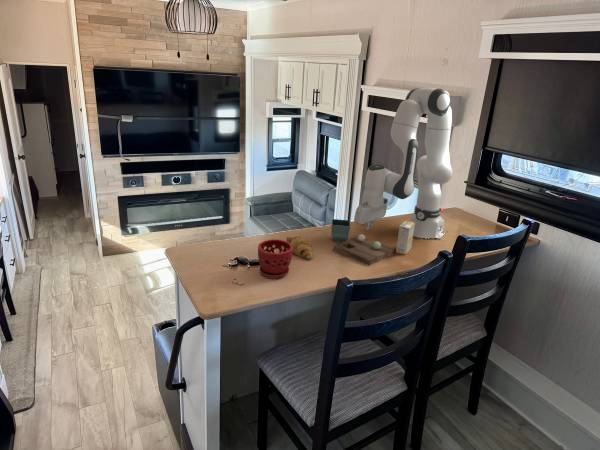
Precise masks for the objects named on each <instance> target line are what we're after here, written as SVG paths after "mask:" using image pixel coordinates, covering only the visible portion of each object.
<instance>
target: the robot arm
mask: <svg viewBox="0 0 600 450" xmlns="http://www.w3.org/2000/svg"><path fill="white" fill-rule="evenodd" d="M452 113H453V112H452V108H451V96H450V93H449V92H448V91H447V90H445V89H443V88H436V87H422V88H421V87H416V88H413V89H410V91H409V92H408V93H407V95H406V97H405V99H404V100H402V101H401V102H400V104H399V106H398V107H397V110H396V113H395V114H394V118H393V121H392V124H391V128H390V138H391V140H392V142H393V143H394V144H395V145H396V146H397V147H398V148H399V149H400V150H401V151H402V153H403V160H402V161H403V162H402V167H401V168H402V169H401V174H400V173H397V172H394V171H391V170H389V169H387V168H386V166H385V165H383V164H373V165H370V166H369V167H368V169H367V171H366V174H365V180H364V190H363V195H362V203H360V204H359V205H358V206H357V208H356V209H355V213H354V217H353V222H354V223H355V224H357V225H363V224H364V226H365V227H364V229H365V230H366V231H369V230H372V229H373V225H374V223H375V221H376V220H379V219H382V218H385V216H386V213H387V208H388V203H389V198H387V197H384V193H386V194H389V195H392V196H394V197H395V198H396V199H397V198H398V199H400V200H405V199H407V198H409V197H411V195H412V194H413V193H414V190H415V176H416V171H417V198H416V205H415V206H414V211H413V214H412V215H411V217H410V221H409V222H413V223H415V226H414V233H413V237H415V238H418V239H419V238H420V239H423V238H425V239H426V240H430V239H429V238H437V239H436V240H439V239H440V238H441V237H442V236H443V235H444V234H445V233H444V234H443V233H441V232H442V231H443V229H444V228H445V219H443V217H441V212H443V207H440V205H441V200H442V189H441V185H445V184H447V183H448V182H450V180H452V177H453V174H454V173H453V168H452V164H451V155H450V141H451V133H452V124H453V123H452V121H453V117H452V116H453V114H452ZM423 115H426V116H427V121H426V128H425V135H424V149H425V155H422V156H421V157H418V156H419V145H420V144H419V142H418V141H417V140H418V139H417V133H418V132H417V131H418V128H419V124H420V119H421V117H422V116H423ZM416 169H417V170H416ZM445 235H446V234H445ZM445 235H444V236H445ZM444 236H443V237H444ZM443 237H442V238H443ZM427 238H428V239H427ZM425 239H424V240H425ZM440 240H441V239H440Z"/></svg>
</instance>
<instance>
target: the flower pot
mask: <svg viewBox="0 0 600 450" xmlns="http://www.w3.org/2000/svg"><path fill="white" fill-rule="evenodd" d="M330 225H331V227H330V228H331V231H330V232H331V237H332V240H333V242H338V243H341V242H343V241H346V240H348V238H349V234H350V231H351V220H347V219H340V218H339V219H338V218H336V219H335V218H331V224H330Z"/></svg>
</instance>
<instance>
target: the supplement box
mask: <svg viewBox="0 0 600 450" xmlns="http://www.w3.org/2000/svg"><path fill="white" fill-rule="evenodd" d="M414 226H415V223H413V222H410V221H408V220H404V221H403V222H402V223H401V224H400V225H399V228H398V236H397V242H396V243H397V244H396V251H395V253H396V254H401V255H404V256H406V255H407V254H409V252H410V251H411V249H412V245H413V238H414V236H413V233H414Z"/></svg>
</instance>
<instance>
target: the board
mask: <svg viewBox="0 0 600 450" xmlns="http://www.w3.org/2000/svg"><path fill="white" fill-rule="evenodd" d="M358 236H359V235H357V236H354V237H351V238H349V239H347V240H346V241H343V242H338V243H336V244H333V245H332V252H335V253H338V254H341V255H343V256H345V257H347V258H350V259H352V260H355V261H357V262H360V263H362V264H365V265H367V266H368V267H369V266H371V265H374V264H376V263H378V262H380V261H382V260H384V259H386V258H389V257H390V256H393V255H394V252H395V249H394V248H391V247H389V246H387V245H384V244H381V248H380V249H375V248H374V247H373V244H374V243H375V242H376V241H373V240H370V239H367V238H365V240H364V241H359V240H358Z"/></svg>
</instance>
